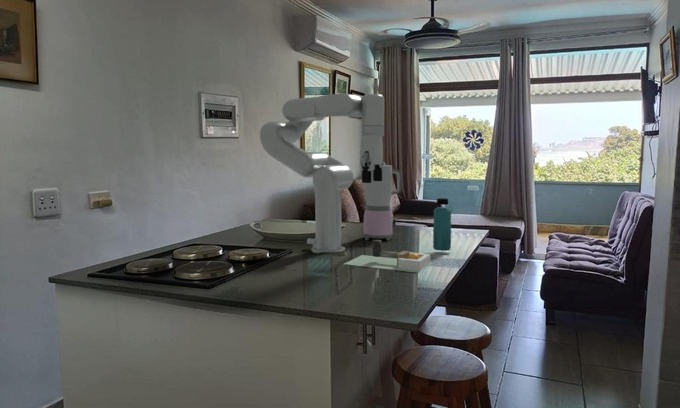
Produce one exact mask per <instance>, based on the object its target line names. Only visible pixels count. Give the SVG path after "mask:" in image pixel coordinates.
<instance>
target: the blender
mask: <svg viewBox="0 0 680 408" xmlns="http://www.w3.org/2000/svg"><path fill="white" fill-rule="evenodd" d="M368 166H369V165H368ZM382 167H383V169H382V181H373V170H375V169H374V166H373V165H372V167H371V170H370V171H371V183H364V192H365V193H364V194H365V198H366V199H365V200H366V209H365V211H364V213H363V237H364V240H365V241H369V240H370V238H371V239H385V241H386V242H389V241H391V238H392V237H393V227H395V226H396V219H394V218H393V217H394V215H393V214H394V213H393V211H392V210H391V205H390V204H391V199H392V195H397V194H400V193H401V191H402V172H401V171H400V170H399V169H395V168H393V166H392V165H390V164H386V162H384V161H383V165H382ZM393 174H395V175H396V177H397V181H396V182H397V183H396V185H397V186H396V189H393ZM388 240H389V241H388Z"/></svg>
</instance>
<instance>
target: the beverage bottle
mask: <svg viewBox="0 0 680 408" xmlns="http://www.w3.org/2000/svg"><path fill="white" fill-rule="evenodd" d="M436 205H441V206H442V205H443V206H442V207H441V206H440V207H439V206H437V207H436V208H435V209H434V210H433V230H432V235H433V236H432V248H433V250H435V251H442V252H443V251H445V252H446V251H450V250H451V247H452V210H451V209H450V208H449V207H444V205H449V199H448V198H444V197H439V198H437V199H436Z"/></svg>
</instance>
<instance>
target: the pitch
mask: <svg viewBox="0 0 680 408" xmlns="http://www.w3.org/2000/svg"><path fill="white" fill-rule="evenodd" d="M433 263H434V262H432V261H430V264H429V265H428V266H426V267H425V268H423V269H422V270H421V271H415V270H406V269H398V266H397V257H387V256H381V257H374V256H372V255H366V254H362V255H359V256H356V257H355V258H353V259H351V260H349V261H348V262H347V261H346V262H344V263H343V265H350V266H357V267H364V268H365V267H366V268H375V269H384V270H392V271H400V272H407V273H408V272H409V273H418V274H419V273H421V272H422V271H423V270H425V269H427V267H429V266H430V265H431V264H433Z"/></svg>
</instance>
